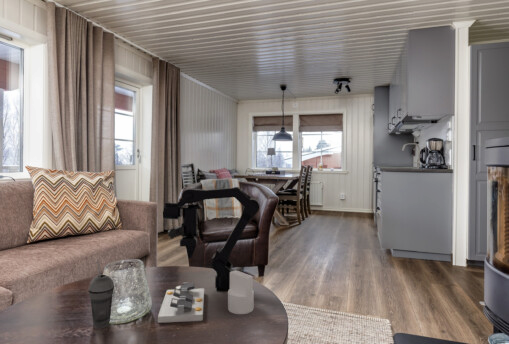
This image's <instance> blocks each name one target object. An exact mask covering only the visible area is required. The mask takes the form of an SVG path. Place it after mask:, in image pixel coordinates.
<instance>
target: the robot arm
mask: <svg viewBox="0 0 509 344" xmlns="http://www.w3.org/2000/svg"><path fill="white" fill-rule="evenodd" d="M227 198H228V199H229V198H234V199H235V200H237V202H239V203H240V205H242V206H243V209H242V212H241V216H240V218H239V219H238V221H237V222H236V224H235V226H234V228H233V229H232V231H231V233H230V234H229V236H228V238H227V239H226V242H225V244H223V246H222V247H221V248H220V247H219V246H218V247H217V249H216V251H215V253H214V254H213V255H212V258H211V261H212V262H211V267H212V270H214V271H215V273H216V275H214V276H215V278H214V280H215V281H214V284H215V285H214V288H215V290H216V291H217V292H228V290H229V289H230V272H232V271H233V266H234V265H233V263H232V262H230V256H231V253H232V251H233V249H234V248H235V246H236V245H237V243H238V240H239V239H240V237H241V235H242V234H243V232H244V231H245V229H246V227H247V226H248V223H249V222H250V221H251V220H253V218H254V217H255V216H256V215H257V213H259V212H260V211H259V210H260V202H259V199H257V198H255V197H251V196H250V195H249V194H247V193H246V192H245V191H243V190H242V189H241V188H240V187H238V186H234V187H226V188H214V189H213V188H212V189H211V188H210V189H204V188H203V189H202V188H194V187H191V188H188V189H185V190H184V191H182V192H181V199H180V200H178V202H170V201H167V202H165V203H164V206H163V211H162V218H163V219H164V220H179V219H180V218H182V222H181V225H178V226H176V227H172V228H170V229H169V230H168V231H167V234H168V237H169V238H170V240H173V239H174V238H177V237H182V238H180V241H179V247H185V248H186V253H187V254H186V255H187V257H188V259H191V258H193V254H194V251H195V249H196V247H197V246H198V241H199V239H198V238H197V237H199V234H200V233H199V232H200V230H199V229H198V210H201V209H203V206H202V205H201V203H200V202H202V201H206V200H212V199H215V200H217V199H227ZM194 203H195V204H194ZM187 204H188V205H187ZM185 205H187V206H185Z"/></svg>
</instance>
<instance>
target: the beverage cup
mask: <svg viewBox="0 0 509 344" xmlns="http://www.w3.org/2000/svg"><path fill="white" fill-rule="evenodd" d="M96 264H97V273H98V274H97V275H96V276H95V277H94V278H92V280H91V281H90V283H89V285H88V295H89V298H90V306H91V307H90V308H91V316H92V318H91V319H92V323H93V328H94V329H97V330H101V329H105V328H107V327H108V326H110V324H109V322H110V321H111V317H110V316H111V315H112V306H113V304H112V302H113V293H114V289H115V285H114V284H115V283H114V281H113V279H112V277H110V276H109V275H107V274H101V269H100V261H99V260H97V263H96Z"/></svg>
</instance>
